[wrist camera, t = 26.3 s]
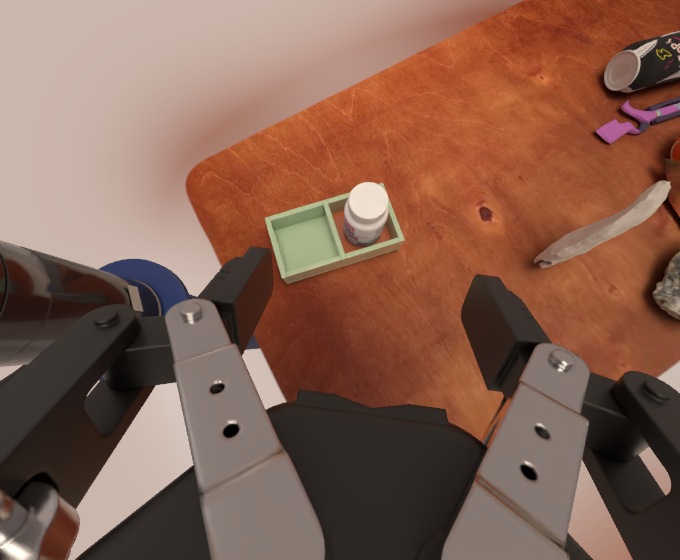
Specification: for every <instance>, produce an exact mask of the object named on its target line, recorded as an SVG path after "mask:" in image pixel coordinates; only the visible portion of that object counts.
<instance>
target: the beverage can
mask: <svg viewBox="0 0 680 560" xmlns="http://www.w3.org/2000/svg"><path fill="white" fill-rule="evenodd" d="M678 79H680V31H678V32H674V33H671V34H667V35H663V36H659V37H655V38H651V39H647V40H643V41H639V42H636V43H633V44H631V45H629V46H628V47H626V48H625V49H623V50H622V51H621V52H620V53H618V54H617V55H615V56H614V57H613V58H612V59H611V61H610V62H609V63H608V65H607V67H606V70H605V74H604V82H605V85H606V86H607V88H609V89H610V90H612V91H617V92H620V93H629V92H633V91H637V90H640V89H644V88H648V87H652V86H656V85H659V84H663V83H667V82H671V81H674V80H678Z"/></svg>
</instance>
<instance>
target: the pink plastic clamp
mask: <svg viewBox="0 0 680 560" xmlns="http://www.w3.org/2000/svg"><path fill="white" fill-rule="evenodd" d="M628 102H629V100H628V101H626V102H625V103H624V104H623V105H622V107H621V109H622V111H624V112H625V113H627V114H629V115H630V116H632V117H633V118H635V119H636V120H638V122H639V123H640V124H641V125H640V127H639V129H636V128H634V127H633V125H632V124H631V123H630V122H625V123H618V122H617V119H615V120H613V121H611V122H609V123H607V124H606V125H604V126H602V127H600V128H599V129H597V130H596V132H597V133H598V134H599V135H600V136H601V137H602V138H603V139H604V140H605V141H606V142H608V143H613V142H615V141H616V140H617V139H619V138H620V137H621V136H623V135H624V134H626V133H627V132H628V133H630V134H638V133H642V132H644V131H646V130H647V128H648V127H649V123H650V121H651V123H652V125H654V124H657V123H660V122H663V121H666V120H669V119H672V118H675V117H678V116H680V103H677V102H680V97H677V98H674V99H671V100H668V101H665V102H662V103H659V104H656V105H653V106H650V107H648V108H647V109H645V111H640V110H636V109H634V108H632V107H630V106H629V103H628ZM674 103H677V104H674ZM671 104H673V105H671ZM668 105H670V106H668ZM666 106H667V107H666ZM663 107H664V108H663Z"/></svg>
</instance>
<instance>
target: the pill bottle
mask: <svg viewBox="0 0 680 560" xmlns="http://www.w3.org/2000/svg"><path fill="white" fill-rule="evenodd" d="M387 217H388V196H387V193H386V191H385V190H384V189H383V188H382V187H381V186H380V185H378V184H376V183H372V182H364V183H361V184H358V185H357V186H355V187H354V188H353V189H352V191H351V192H350V195H349V198H348V200H347V201H346V204H345V208H344V235H345V237H346V239H347V240H348V241H349V242H350V243H351V244H352V245H354V246H356V247H368V246H371V245H373V244H374V243H376V242H377V240H378V239H379V237H380V236H381V233H382V230H383V228H384V225H385V223H386V220H387Z"/></svg>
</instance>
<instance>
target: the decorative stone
mask: <svg viewBox="0 0 680 560" xmlns="http://www.w3.org/2000/svg"><path fill="white" fill-rule="evenodd" d="M664 160H665V169H666V178H667V182H671V183H670V185H671V188H670V190H669V192H668V195H669V201H670V203H671V205H672V206H673V208H674V209H675V211H676V212H677V214H678V215H679V217H680V161H677V160H672V159H668V158H664Z"/></svg>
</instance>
